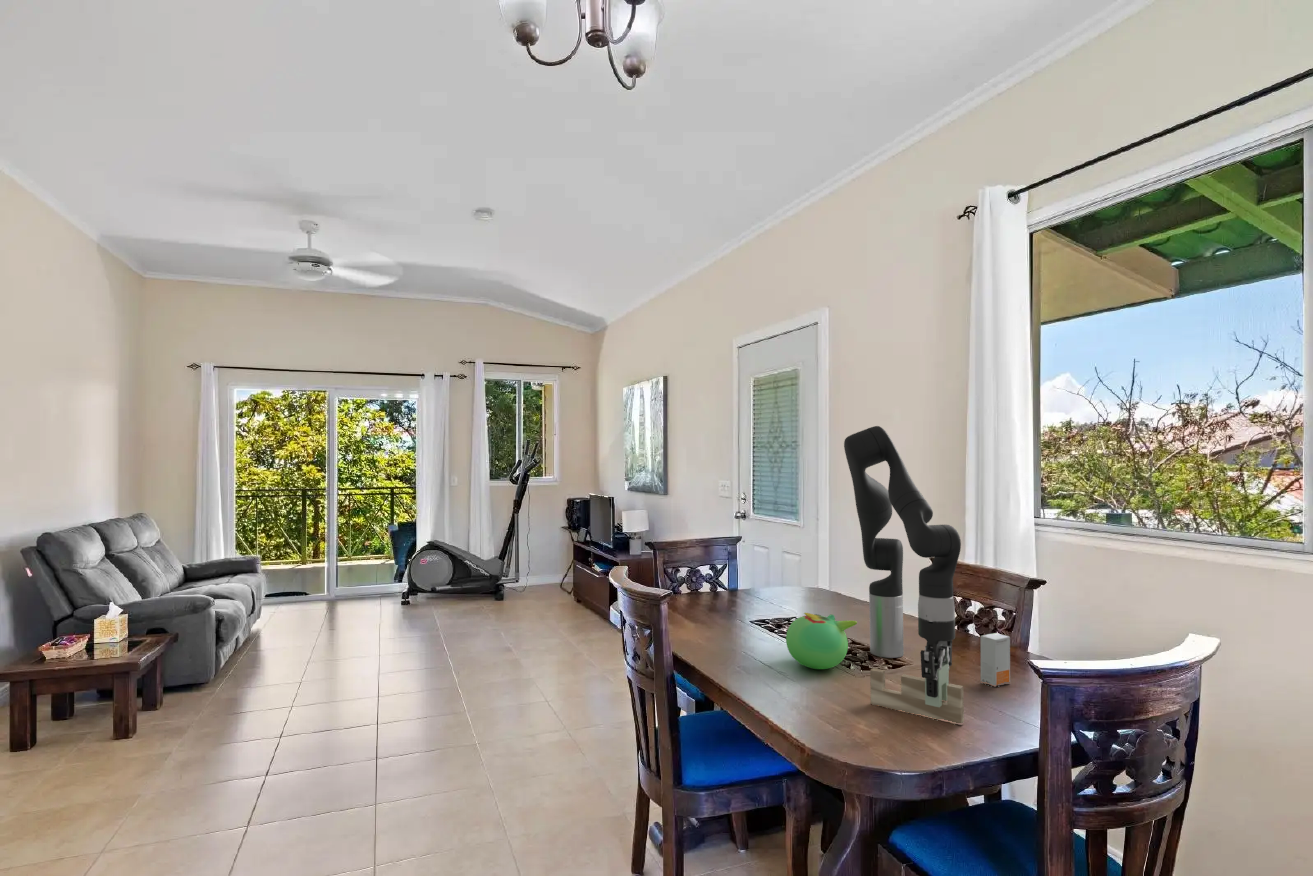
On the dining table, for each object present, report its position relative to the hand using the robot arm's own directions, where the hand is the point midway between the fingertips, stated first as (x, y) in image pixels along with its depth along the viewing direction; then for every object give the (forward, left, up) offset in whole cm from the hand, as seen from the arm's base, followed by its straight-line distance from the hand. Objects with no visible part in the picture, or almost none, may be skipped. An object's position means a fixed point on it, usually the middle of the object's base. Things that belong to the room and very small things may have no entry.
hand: (937, 691), depth 150 cm
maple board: (0, -5, -6) cm, 8 cm away
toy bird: (-17, -37, -6) cm, 41 cm away
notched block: (0, 0, -2) cm, 2 cm away
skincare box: (-32, +4, -6) cm, 33 cm away
